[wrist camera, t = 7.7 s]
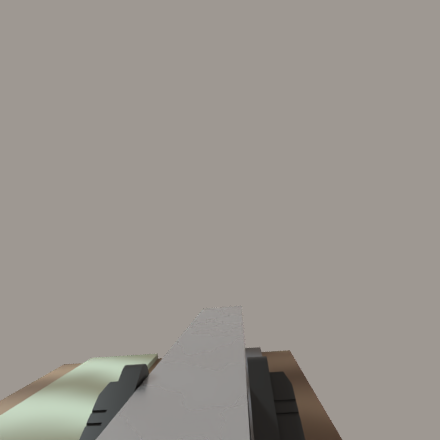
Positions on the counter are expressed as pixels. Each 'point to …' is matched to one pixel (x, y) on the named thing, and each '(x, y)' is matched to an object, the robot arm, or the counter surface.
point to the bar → (193, 387)
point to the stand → (110, 372)
